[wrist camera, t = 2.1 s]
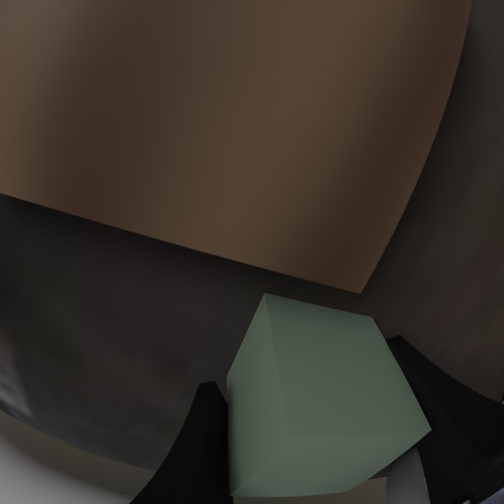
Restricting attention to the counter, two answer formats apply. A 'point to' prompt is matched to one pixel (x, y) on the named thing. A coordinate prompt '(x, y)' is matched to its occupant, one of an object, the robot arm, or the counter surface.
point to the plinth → (230, 120)
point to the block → (315, 402)
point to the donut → (407, 480)
